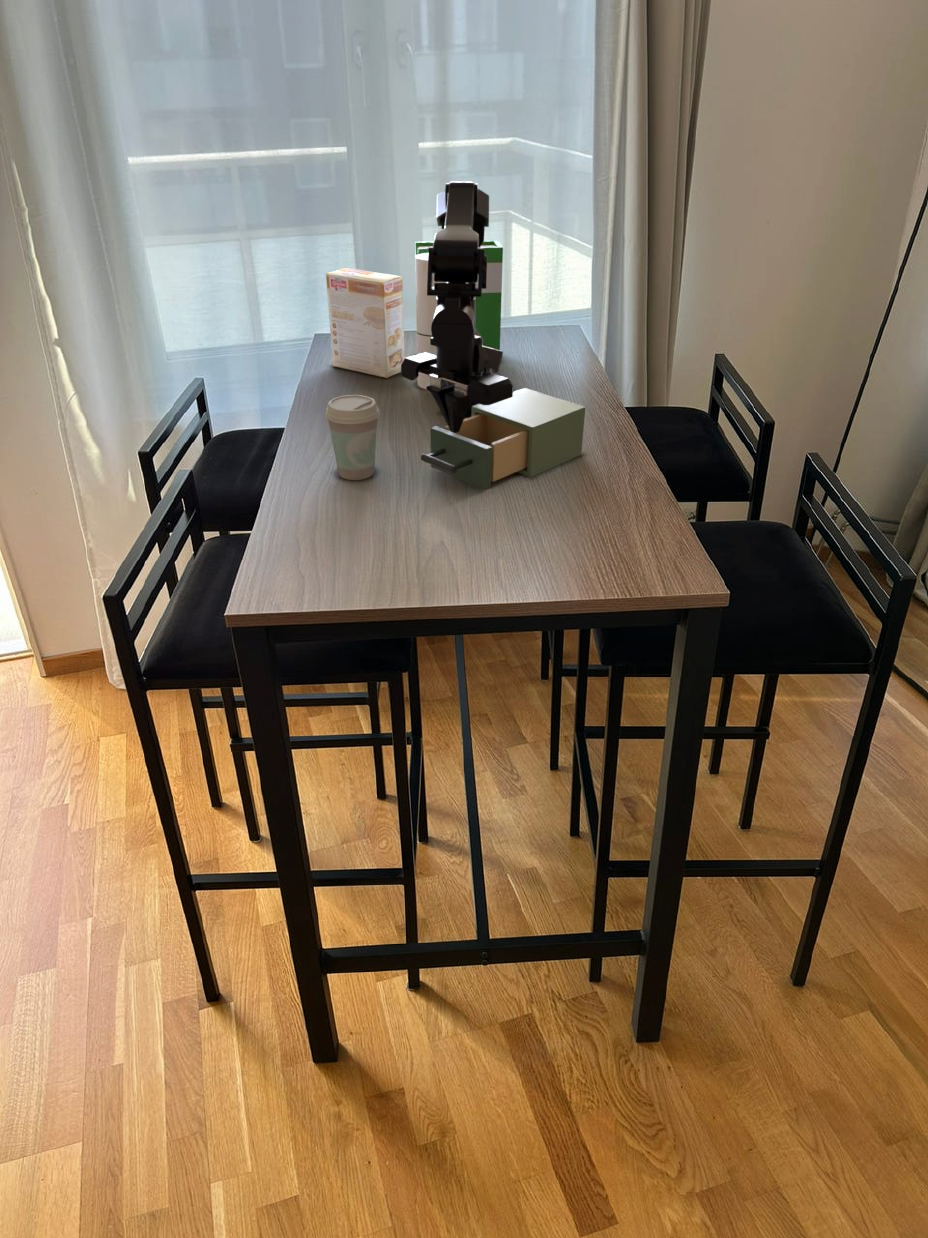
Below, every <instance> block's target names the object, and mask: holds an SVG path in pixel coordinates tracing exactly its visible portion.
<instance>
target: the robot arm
mask: <svg viewBox="0 0 928 1238" xmlns="http://www.w3.org/2000/svg"><path fill="white" fill-rule="evenodd" d="M444 188H445V189H443V190H441V191H440V192H439V193H437V194H436V222H437V226H438V227H441V230H438V231H437V232H435V233H434V238H433V241H434V244H433V247H429V252H428V279H427V296H437V297H436V310H435V313H434V317H433V321H432V325H431V332H432V336H433V337H432V338H430V345H433V346H436V355H433V354H430V353H427V352H425V353H421V354H417V353H416V354H415V355H411V356H407V357H405V359H404V361H403V363H402V364H401V372H400V376H401V377H400V378H404V379H407V380H409V381H416V380H417V377H418V376H419V372H421V373H424V374H427V375H428V377H430V386H427V387H426V389H425V390H426V391H427V392H429V393H430V395H431V396H432V398H433V400H434V402H435V403H436V405H437V407H438V409H439V410H440V413H441V415H442V416H443V418H444V421H445V423H446V424H447V425H448V427H449V429H450V431H451V432H453V433H457V432H459V431H460V428H461V425H462V423H463V420H464V419H466V418H469V417H471V415H472V406H474V405H477V404H481V405H491V404H494V403H497V402H500V401H502V400H505V399H508V398H511V397H512V396H513V392H514V383H513V381H512V380H511V379H510V378H509V377H506V376H503V375H499V374H496V373H498V372H499V370H500V366H501V362H502V358H503V355H504V351H503V350H501V349H500V350H496V349H493V348H490V347H486V346H483V338H482V336H481V335H480V333H479V332H478V330H477V329H476V327H475V311H476V298H475V297H482V289H486V282H487V256H486V255H485V250H483V248H480V246H481V245H482V243H483V242H484V241H485V231H486V229H485V228H489V227H490V195H489V194H488V193H486V192H485V191H483V190H481V189H479V183H476V182H474V181H449V182H446V183H445V187H444ZM433 273H434V281H435V282H447V283H434V287H432V282H433ZM478 274H479V277H478ZM477 281H478V288H475V286H476V284H475V283H476V282H477ZM491 370H492V371H494V372H495V373H493V372H492V373H490V371H491ZM447 425H446V426H447Z"/></svg>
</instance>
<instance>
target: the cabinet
mask: <svg viewBox="0 0 928 1238" xmlns="http://www.w3.org/2000/svg"><path fill="white" fill-rule="evenodd" d="M477 414H483V415H485V416H488V417H491V418H494V419H497V420H500V421H502V422H505V423H508V424H511V425H514V426H517V427H520V428H522V429H525V430H528V431H529V443H528V462H527V467H526V468H524V469H522V470H519V471H517V472H516V473H518V474H520V475H523V476H526V477H528V478H532V477H534V476H537V475H539V474H541V473H544V472H546V471H548V470H550V469H553V468H555V467H557V466H560V465H562V464H563V463H566V462H568V461H571V460H573V459H575V458H577V457H580V456H582V453H583V441H584V428H585V418H586V406H584V405H581V404H577V403H575V402H571V401H568V400H565V399H562V398H559V397H556V396H552V395H548V394H545V393H542V392H540V391H536V390H533V389H530V388H527V387H522V388H521V389H517V390H513V396H512V397H511V398H508V399H505V400H502V401H500V402H497V403H494V404H491V405H481V404H477V405H474V406H472V415H471V417H472V416H475V415H477Z"/></svg>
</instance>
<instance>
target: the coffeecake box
mask: <svg viewBox="0 0 928 1238" xmlns="http://www.w3.org/2000/svg"><path fill="white" fill-rule="evenodd" d="M325 277H326V278H325V280H326V293H327V294H326V295H327V306H328V319H329V321H328V323H329V335H330V346H331V347H330V349H331V361H332V367H335V368H340V369H345V370H350V371H353V372H358V373H363V374H368V375H371V376H375V377H380V378H384V379H388V378H390V377H392V376H395V375H397V374H401V364H402V363H403V361H404V359H405V358H406V357H405V355H406V353H405V325H404V324H405V323H404V291H403V290H404V289H403V287H404V286H403V285H404V284H403V275H396V274H389V273H383V272H375V271H368V270H363V269H355V268H349V267H343V268H339V269H336V270H334V271H329V272H326V273H325Z"/></svg>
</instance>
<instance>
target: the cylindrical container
mask: <svg viewBox="0 0 928 1238" xmlns="http://www.w3.org/2000/svg"><path fill="white" fill-rule="evenodd" d="M414 257H415V258H414V263H415V268H414V269H415V271H414V273H415V315H416V319H415V320H416V321H415V322H416V323H415V324H416V355H417V354H421V353H425V352H427V353H430V354H433V355H436V346H433V345H430V338H432V337H433V336H432V332H431V325H432V321H433V317H434V313H435V310H436V297H437V296H427V279H428V253H423V254H418V255H416V256H415V255H414ZM434 283H447V282H435V281H434V273H433V282H432V287H434ZM416 380H417V386H418V387H419V388H421V389H423V390H427V389H426V387H427V386H430V377H428V375H427V374H424V373H421V372H419V376H418V377H417V378H416Z"/></svg>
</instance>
